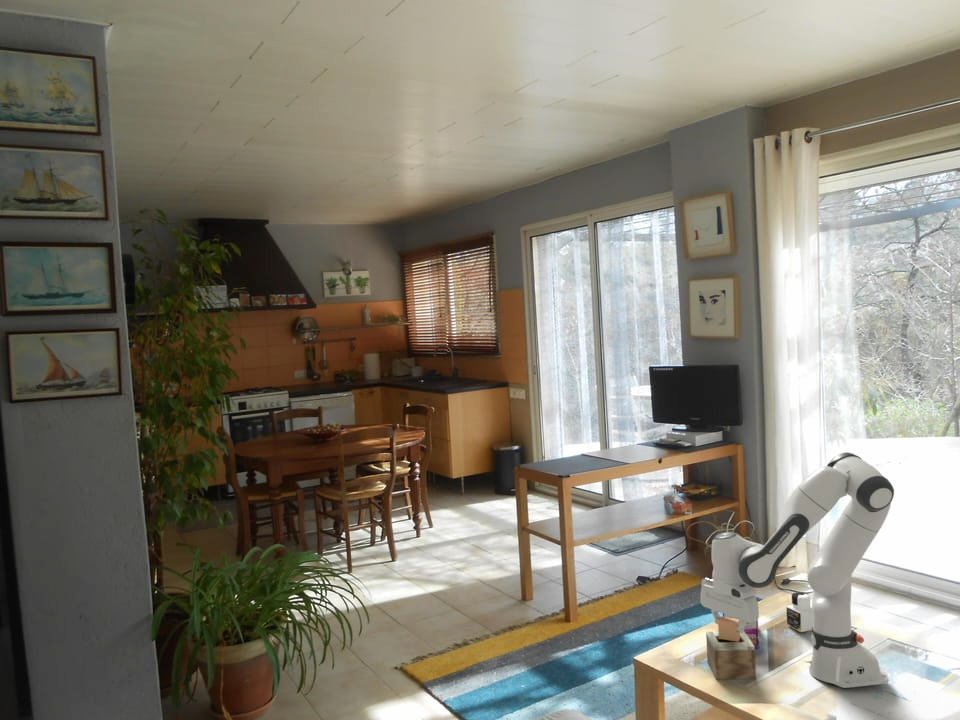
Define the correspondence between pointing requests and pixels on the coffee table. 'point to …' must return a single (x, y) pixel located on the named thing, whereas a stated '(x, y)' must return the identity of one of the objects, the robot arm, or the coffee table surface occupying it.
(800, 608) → the medicine bottle
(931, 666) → the coffee table surface
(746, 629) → the candy bar box
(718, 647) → the drop box
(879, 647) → the coffee table surface
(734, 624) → the block
